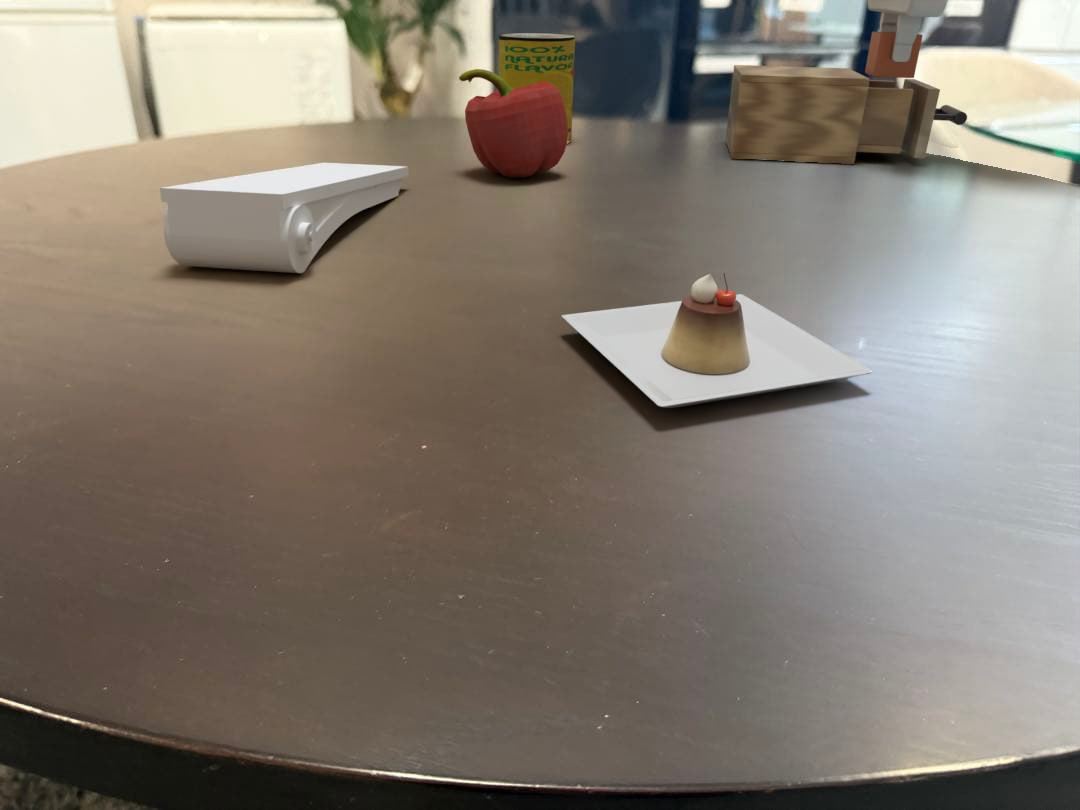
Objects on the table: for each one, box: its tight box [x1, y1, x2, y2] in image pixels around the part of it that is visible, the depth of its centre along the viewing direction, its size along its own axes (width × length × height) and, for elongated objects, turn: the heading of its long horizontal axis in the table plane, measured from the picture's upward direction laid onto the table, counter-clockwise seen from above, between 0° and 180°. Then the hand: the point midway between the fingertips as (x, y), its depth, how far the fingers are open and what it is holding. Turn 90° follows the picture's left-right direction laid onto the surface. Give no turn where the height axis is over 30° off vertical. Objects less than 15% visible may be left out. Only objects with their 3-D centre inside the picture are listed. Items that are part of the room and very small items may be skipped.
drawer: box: [856, 78, 968, 159], centre depth 97 cm, size 17×10×7 cm, turn 82°
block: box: [864, 31, 923, 79], centre depth 94 cm, size 4×4×4 cm
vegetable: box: [458, 68, 568, 178], centre depth 84 cm, size 11×10×10 cm
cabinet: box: [724, 64, 871, 165], centre depth 98 cm, size 14×12×9 cm
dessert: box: [561, 272, 874, 409], centre depth 44 cm, size 12×12×5 cm
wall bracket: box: [159, 162, 409, 274], centre depth 67 cm, size 10×7×28 cm
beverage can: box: [498, 32, 576, 141], centre depth 101 cm, size 9×9×12 cm
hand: (892, 59), depth 94 cm, fingers closed on block, 4 cm apart
